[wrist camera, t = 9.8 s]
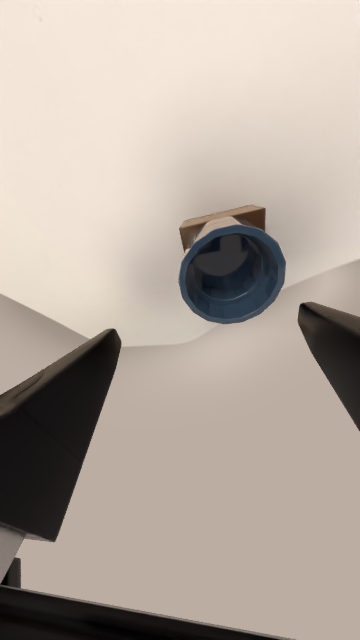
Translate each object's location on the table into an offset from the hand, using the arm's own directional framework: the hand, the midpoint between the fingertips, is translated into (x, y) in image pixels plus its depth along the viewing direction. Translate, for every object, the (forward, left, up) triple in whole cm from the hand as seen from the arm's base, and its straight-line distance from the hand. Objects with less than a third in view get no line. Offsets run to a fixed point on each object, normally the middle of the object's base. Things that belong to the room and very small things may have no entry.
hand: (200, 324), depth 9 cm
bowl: (+1, -2, -8) cm, 8 cm away
